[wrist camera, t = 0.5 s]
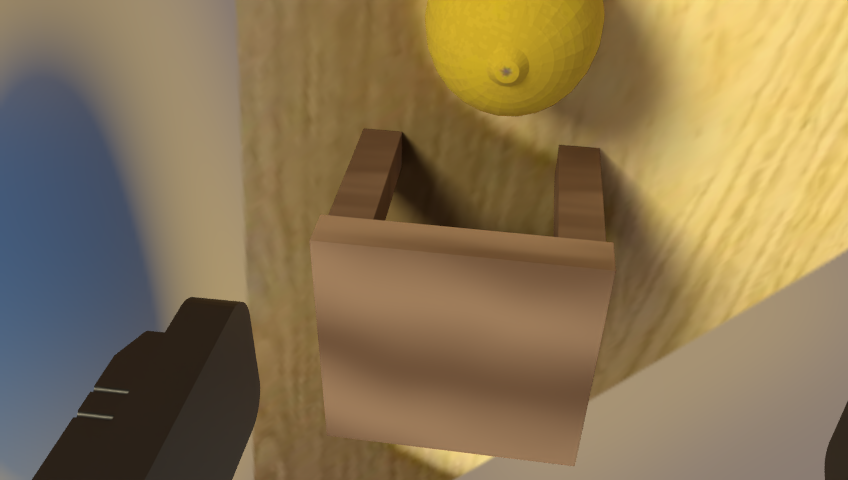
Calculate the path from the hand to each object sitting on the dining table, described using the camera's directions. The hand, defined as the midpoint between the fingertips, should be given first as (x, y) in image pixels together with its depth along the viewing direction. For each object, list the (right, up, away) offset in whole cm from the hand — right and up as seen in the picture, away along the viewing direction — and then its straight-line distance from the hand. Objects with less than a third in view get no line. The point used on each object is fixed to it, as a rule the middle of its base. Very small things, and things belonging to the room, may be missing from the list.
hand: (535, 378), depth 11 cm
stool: (+1, +2, +24) cm, 25 cm away
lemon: (+2, +11, +18) cm, 21 cm away
